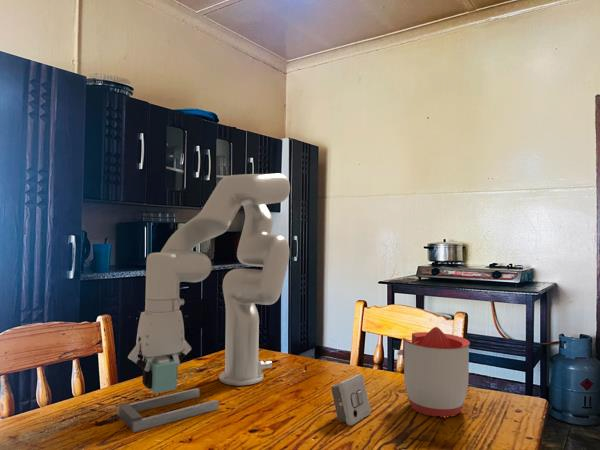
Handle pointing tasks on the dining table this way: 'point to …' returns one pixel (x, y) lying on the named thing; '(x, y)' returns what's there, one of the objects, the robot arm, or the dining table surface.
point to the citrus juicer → (436, 372)
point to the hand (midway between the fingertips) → (160, 383)
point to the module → (163, 374)
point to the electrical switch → (351, 400)
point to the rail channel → (137, 423)
